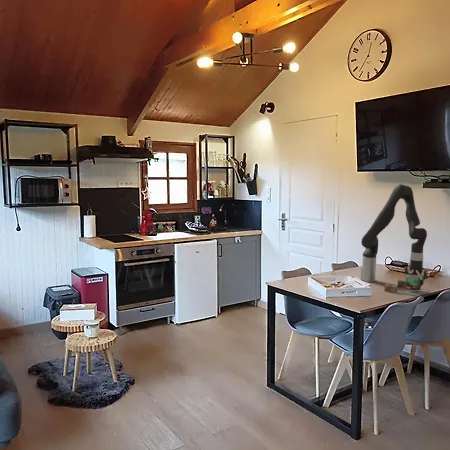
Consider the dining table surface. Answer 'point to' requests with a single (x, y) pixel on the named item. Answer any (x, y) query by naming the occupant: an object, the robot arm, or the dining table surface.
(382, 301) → the dining table surface
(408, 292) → the slate pad
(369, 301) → the dining table surface
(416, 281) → the food container
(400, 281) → the clamp blocks
